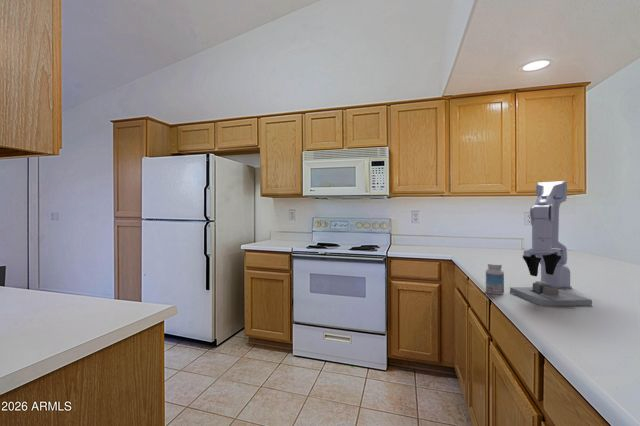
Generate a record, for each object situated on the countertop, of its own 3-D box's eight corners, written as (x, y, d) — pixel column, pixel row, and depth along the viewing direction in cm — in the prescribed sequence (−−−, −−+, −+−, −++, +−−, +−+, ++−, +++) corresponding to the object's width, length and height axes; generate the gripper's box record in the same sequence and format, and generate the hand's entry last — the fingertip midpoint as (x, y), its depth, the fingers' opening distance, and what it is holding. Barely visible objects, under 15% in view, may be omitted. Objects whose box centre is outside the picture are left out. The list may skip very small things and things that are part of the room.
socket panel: (553, 292, 114) (553, 287, 114) (591, 305, 98) (591, 299, 98) (510, 292, 114) (510, 287, 114) (541, 305, 98) (541, 299, 98)
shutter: (558, 294, 103) (558, 286, 103) (574, 300, 96) (575, 291, 96) (540, 294, 103) (540, 286, 103) (555, 300, 96) (555, 291, 96)
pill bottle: (507, 294, 111) (507, 265, 110) (491, 294, 111) (491, 265, 111) (498, 290, 117) (498, 262, 117) (482, 290, 117) (482, 262, 117)
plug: (544, 296, 108) (544, 280, 108) (551, 299, 104) (551, 283, 104) (532, 296, 109) (532, 280, 109) (539, 299, 105) (539, 283, 105)
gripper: (545, 236, 112) (545, 271, 112) (516, 237, 108) (516, 273, 109) (565, 238, 105) (565, 275, 105) (534, 239, 102) (534, 278, 102)
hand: (541, 275), depth 107 cm, fingers open, 7 cm apart
